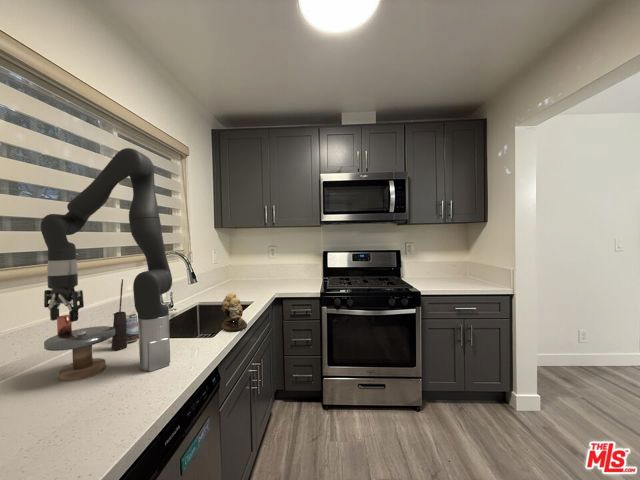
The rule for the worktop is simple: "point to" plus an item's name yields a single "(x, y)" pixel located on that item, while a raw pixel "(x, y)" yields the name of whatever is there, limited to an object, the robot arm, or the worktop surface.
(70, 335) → the grey disc with knob
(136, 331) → the beverage can
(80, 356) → the wheel stand
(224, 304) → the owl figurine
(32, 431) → the worktop surface
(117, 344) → the butter churn
